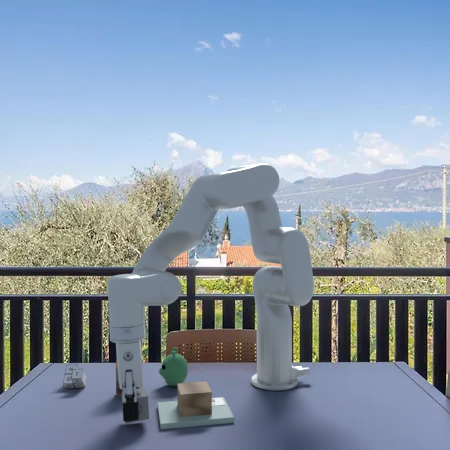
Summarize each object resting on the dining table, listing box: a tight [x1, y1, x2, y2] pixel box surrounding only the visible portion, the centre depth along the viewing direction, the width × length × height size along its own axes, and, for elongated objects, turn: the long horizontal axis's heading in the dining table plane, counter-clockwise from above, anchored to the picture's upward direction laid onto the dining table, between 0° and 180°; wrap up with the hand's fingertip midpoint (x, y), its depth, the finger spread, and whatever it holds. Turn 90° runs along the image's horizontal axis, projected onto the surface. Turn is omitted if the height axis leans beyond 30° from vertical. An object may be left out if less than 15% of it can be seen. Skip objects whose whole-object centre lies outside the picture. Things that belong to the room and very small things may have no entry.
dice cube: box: [121, 387, 150, 424], centre depth 104 cm, size 5×5×5 cm
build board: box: [157, 396, 235, 430], centre depth 109 cm, size 16×12×1 cm
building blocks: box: [62, 364, 88, 389], centre depth 128 cm, size 5×5×8 cm
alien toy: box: [158, 346, 189, 387], centre depth 128 cm, size 7×8×10 cm
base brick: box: [176, 381, 213, 417], centre depth 109 cm, size 7×7×5 cm
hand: (131, 413), depth 103 cm, fingers closed on dice cube, 5 cm apart
